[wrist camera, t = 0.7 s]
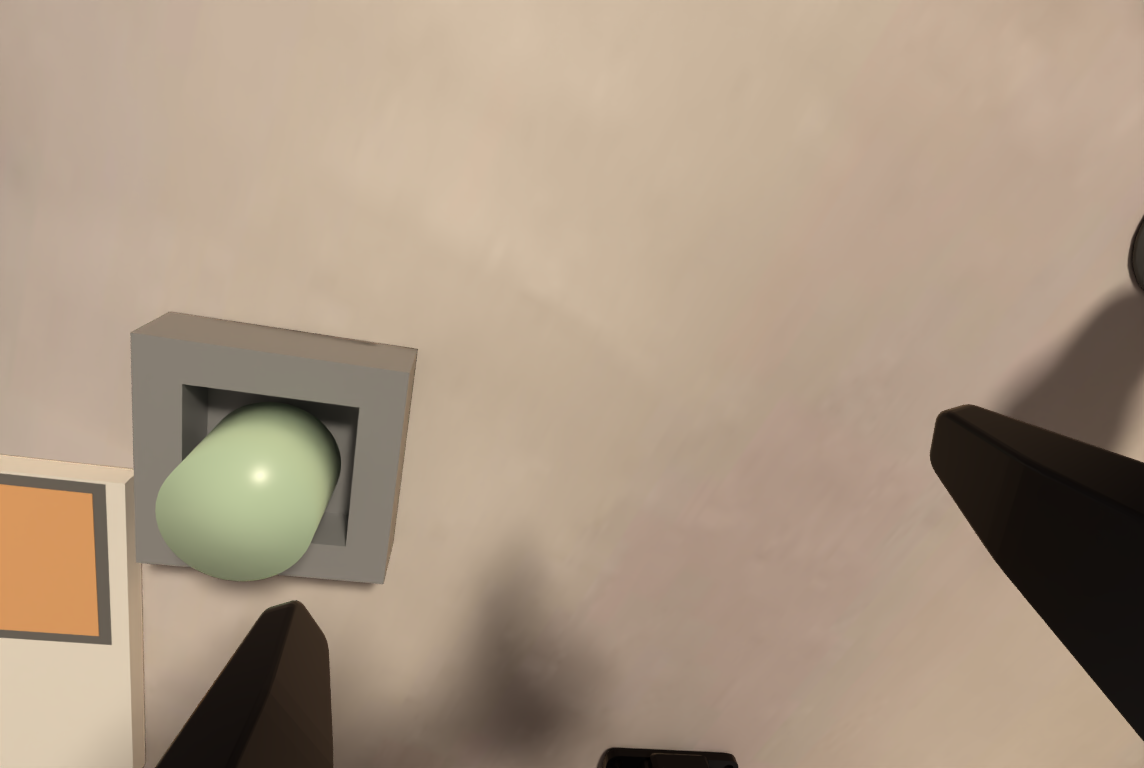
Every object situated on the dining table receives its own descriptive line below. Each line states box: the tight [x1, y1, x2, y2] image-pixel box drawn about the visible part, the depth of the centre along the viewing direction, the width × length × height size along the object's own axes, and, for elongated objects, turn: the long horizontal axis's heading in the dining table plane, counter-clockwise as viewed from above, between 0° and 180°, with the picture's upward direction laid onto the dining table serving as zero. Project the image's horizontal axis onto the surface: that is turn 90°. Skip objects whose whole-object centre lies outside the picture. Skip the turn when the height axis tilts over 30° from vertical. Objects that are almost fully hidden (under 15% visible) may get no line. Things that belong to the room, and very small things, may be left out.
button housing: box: [130, 312, 418, 584], centre depth 22 cm, size 8×8×2 cm
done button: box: [155, 402, 341, 581], centre depth 20 cm, size 4×4×4 cm
